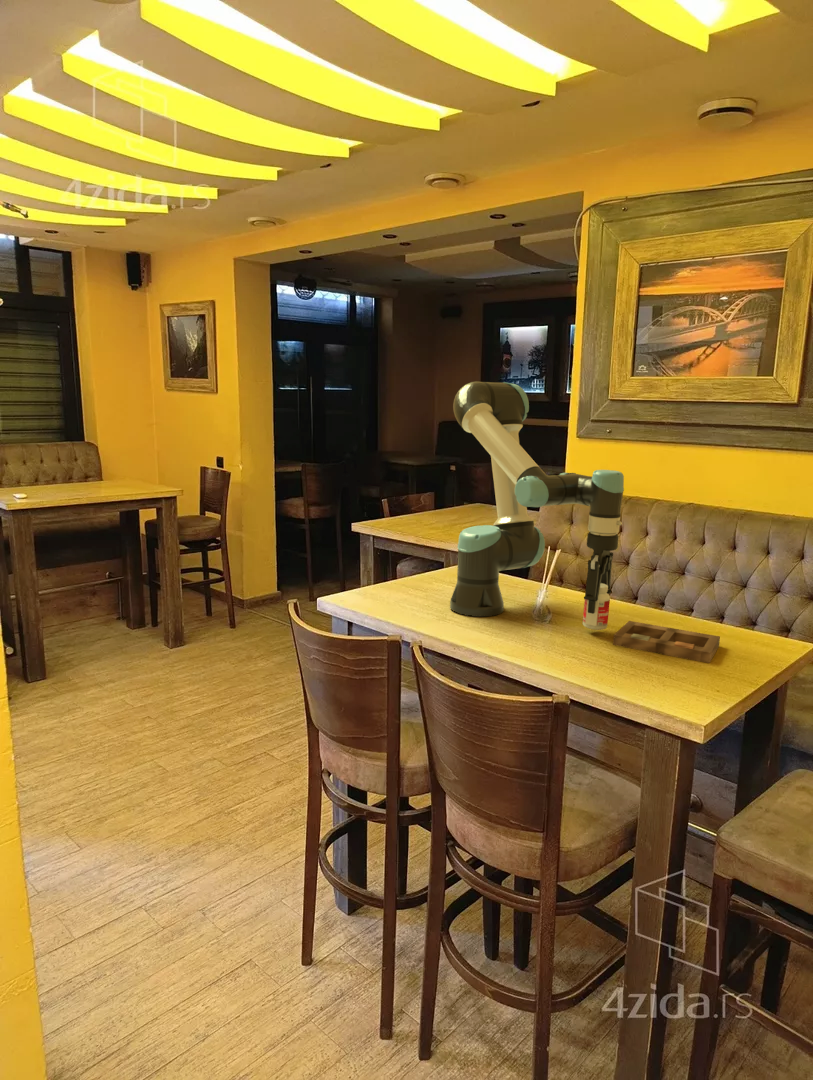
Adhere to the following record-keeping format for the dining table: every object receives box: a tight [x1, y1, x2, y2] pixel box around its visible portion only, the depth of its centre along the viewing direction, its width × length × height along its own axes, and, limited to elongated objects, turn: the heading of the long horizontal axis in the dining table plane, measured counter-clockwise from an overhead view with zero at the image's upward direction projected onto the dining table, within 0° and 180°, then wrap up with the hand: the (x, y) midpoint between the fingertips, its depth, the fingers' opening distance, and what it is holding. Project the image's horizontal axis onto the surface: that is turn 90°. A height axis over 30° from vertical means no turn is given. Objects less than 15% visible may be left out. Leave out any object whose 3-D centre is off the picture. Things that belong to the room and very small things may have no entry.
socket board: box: [612, 620, 721, 664], centre depth 171 cm, size 22×14×3 cm, turn 58°
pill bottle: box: [582, 583, 611, 631], centre depth 178 cm, size 6×6×11 cm
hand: (595, 620), depth 179 cm, fingers closed on pill bottle, 6 cm apart
